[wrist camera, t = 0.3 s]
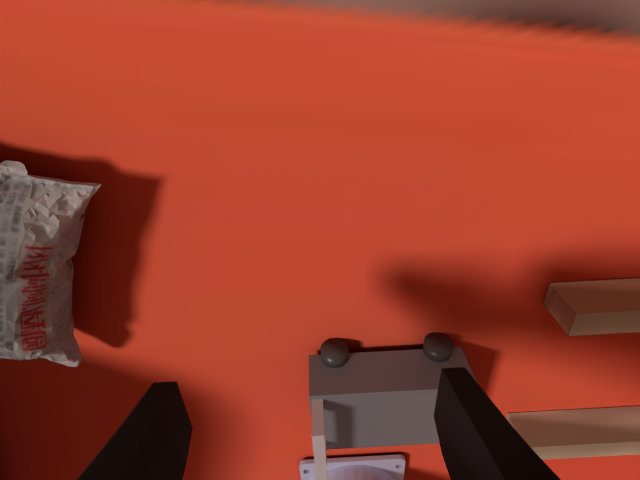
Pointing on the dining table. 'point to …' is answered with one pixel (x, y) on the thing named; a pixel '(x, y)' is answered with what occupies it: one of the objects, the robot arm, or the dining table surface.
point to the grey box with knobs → (376, 395)
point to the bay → (597, 423)
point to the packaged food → (39, 263)
